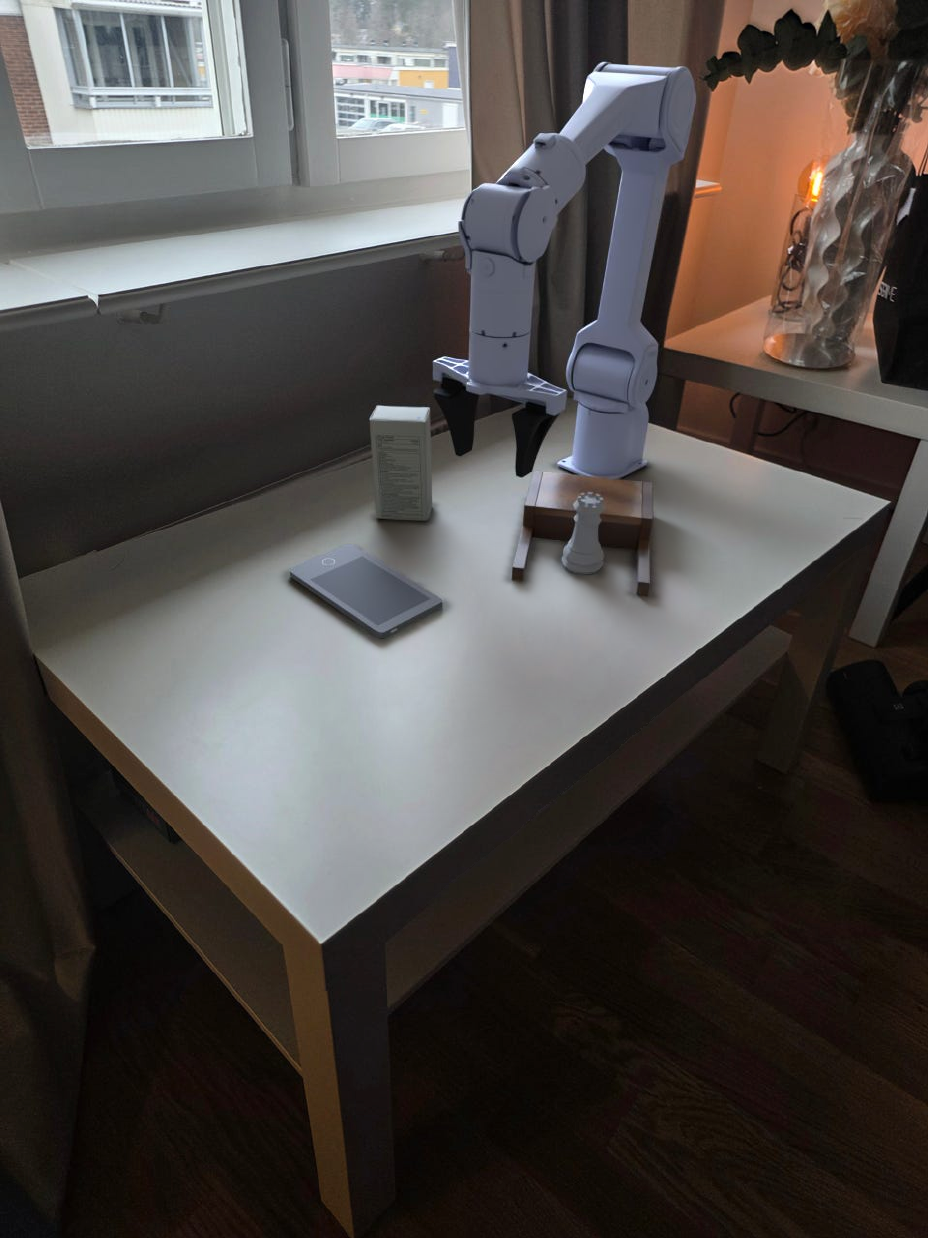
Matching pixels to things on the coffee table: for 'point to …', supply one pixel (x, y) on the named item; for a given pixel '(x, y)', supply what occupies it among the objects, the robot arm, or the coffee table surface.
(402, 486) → the cosmetic box
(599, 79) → the robot arm
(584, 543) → the rook chess piece
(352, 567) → the smartphone
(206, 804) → the coffee table surface
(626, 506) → the brown u-shaped piece
